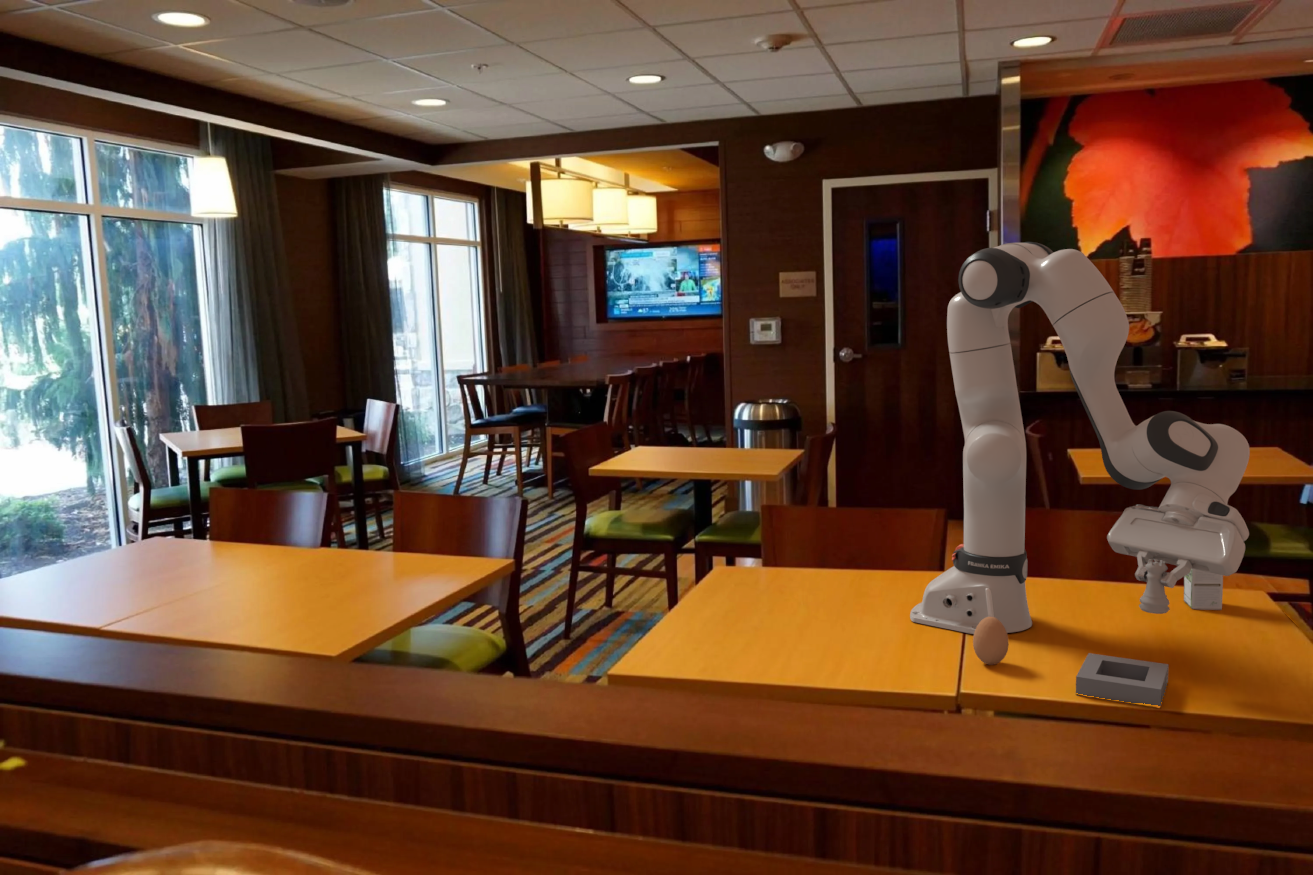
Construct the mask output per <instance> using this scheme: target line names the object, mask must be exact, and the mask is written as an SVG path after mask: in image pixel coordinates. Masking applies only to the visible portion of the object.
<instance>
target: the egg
mask: <svg viewBox="0 0 1313 875" xmlns="http://www.w3.org/2000/svg"><path fill="white" fill-rule="evenodd" d="M972 646H973V649H974V653H975V655H976V657H977V658H978V659H979V660H980V661H981V662H982V663H984V664H986V665H988V666H995V665H998V664H999V663H1001V662H1003V660H1004V659H1005V657H1006V655H1007V653H1008V651H1009V635H1008V633H1007V632H1006V630H1005V627H1004V626H1003V624H1002V623H1001V622H1000V621H999V620H998V619H997V618H995V617H986V618H984V619H983V620H981V621H980V623H979V624H978V625H977V627H976V630H975V632H974V634H973V639H972Z"/></svg>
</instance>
